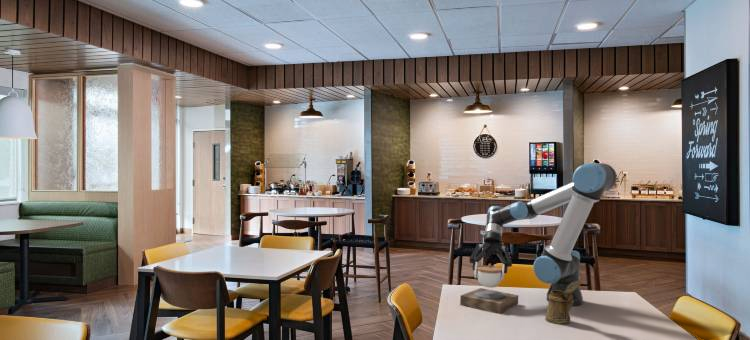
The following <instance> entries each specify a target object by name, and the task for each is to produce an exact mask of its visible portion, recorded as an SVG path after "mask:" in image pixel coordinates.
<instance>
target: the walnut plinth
mask: <svg viewBox="0 0 750 340" xmlns="http://www.w3.org/2000/svg"><path fill="white" fill-rule="evenodd" d="M459 301H460V302H459V303H460V306H464V307H469V308H473V309H478V310H483V311H487V312H492V313H495V314H502V313H504V312H505V311H508V310H510V309H511V308H513V307H516V306H518V305H519V295H518V294H514V293H509V292H503V291H498V290H493V289H489V288H488V289H487V288H482V287H480V288H476V289H474V290H471V291H469V292H466V293H464V294H461V295H460V300H459Z"/></svg>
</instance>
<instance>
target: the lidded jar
mask: <svg viewBox="0 0 750 340" xmlns="http://www.w3.org/2000/svg"><path fill="white" fill-rule="evenodd" d="M476 278H477V280H478V282H479V284H481V286H482V287H485V288H488V289H489V288H492V289H493V288H497V286H498V285H500V283H501V281H502V267H500V266H497V265H496V266H495V265H492V264H491V263H488V265H486V264H485V265H484V264H483V265H482V264H481V265H478V267H477V276H476Z"/></svg>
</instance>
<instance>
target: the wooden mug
mask: <svg viewBox="0 0 750 340" xmlns="http://www.w3.org/2000/svg"><path fill="white" fill-rule="evenodd" d="M580 283H581V281H580V279H579V280H578V279H577V280H575V281H573V282H571V283H570V284H569V285H568V286H567V287H566V289H565V291H566V292H564V291H559V290H551V292H550V295H549V301H548V303H547V304H548V305H547V310H546V315H545V316H544V317H545V318H544V319H545V321H547V322H548V323H552V324H556V325H568V324H570V322H571V317H570V311H571V309H572V308H573V306H574V305H573V296H572V292H573V291H575V290H576V289H577V288H578V286H579V287H580V285H581V284H580ZM568 301H569V304H568Z"/></svg>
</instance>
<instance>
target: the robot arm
mask: <svg viewBox="0 0 750 340" xmlns="http://www.w3.org/2000/svg"><path fill="white" fill-rule="evenodd" d="M617 175H618V174H617V172H616V170H615V169H614V168H613V166H611V165H609V164H607V163H603V162H601V163H600V162H598V163H596V162H586V163H584V164H581V165H579V166H578V167H577V168H576V169H575V170H574V171H573V174H572V181H571V182H569V183H567V184H565V185H562V186H560V187H558V188H555V189H553V190H551V191H549V192H547V193H544V194H542V195H540V196H538V197H535V198H532V199H530V200H529V201H527V202H523V201H517V202H513V203H511V204H509V205H506V206H504V207H501V206H499V205H492V206H490V207H489V208H488V210H487V213H486V223H485V229H484V239H483V243H482V244H480V243H479V242H476V245H475V247H474V249H473V251H472V253H471V255H470V257H469V258H468V261H469V263H470V264H472V271H474V273H473V276H474V279H477V267H478V266H479V264H478V263H479V262H480V261H481V260H482V259H483V258H484V257H485V256H487V255H496V257H498V258H499V260H500V263H502V267H501V268H502V278H501V281H503V282H504V281H505V279H504V278H505V274H507V273H508V267H510V268H511V267H513V262H512V259H511V256H510V253H509V245H507V244H505V245H502V240H503V239H502V237H503V229H504V226H505V225H507V224H510V223H513V222H516V221H523V220H531V219H535V218H537V217H538V216H539V215H541V214H545V213H546V212H548V211H551V210H554V209H556V208H559V207H560V206H563V205H565V204H568V205H567V207H566V209H565V212H564V214H563V216H562V218H561V220H560V223H559V225H558V227H557V229H556V231H555V234H554V236H553V238H552V240H551V243H550V244H548V245H545V247H544V249H543V251H542V253H541V255H540V256H538V257H536V259H535V260H534V262H533V265H532V269H533V272H534V275H535V277H536V278H537V279H538V280H539V281H540V282H542V283H544V284H548V285H549V284H550V285H549V287H548V291H547V293H546V301H548V302H549V295H550V292H551V290H559V291H564V292H566V291H565V289H566V287H567V286H568V285H569V284H570V283H571V282H573V281H575V280H577V279H578V280H579V281H580V267H581V266H580V265H581V257H580V256H581V254H580V252H579V251H577V250H573V249H574V247H575V245H576V242H577V241H578V238H579V236H580V234H581V233H582V230H583V228H584V225H585V223H586V222H587V219H588V217H589V215H590V212H591V211H592V208H593V206H594V203H597V202H600V200H601V199H602V196H603V194H604V193H605V192H606V191H609V190H611V189H612V188H613V187H615V185H616V183H617V178H618V176H617ZM481 249H482V250H481ZM480 250H481V251H480ZM502 250H503V252H504V254H505V257H506V259H505V257H504V255H503V254H502V252H501V251H502ZM582 294H583V293H582V291H581V287H580V285H579V286H578V288H577V289H576V290H575V291H573V292H572V296H573V306H581V305H583V303H584V297H583V295H582ZM568 304H569V301H568Z"/></svg>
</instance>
